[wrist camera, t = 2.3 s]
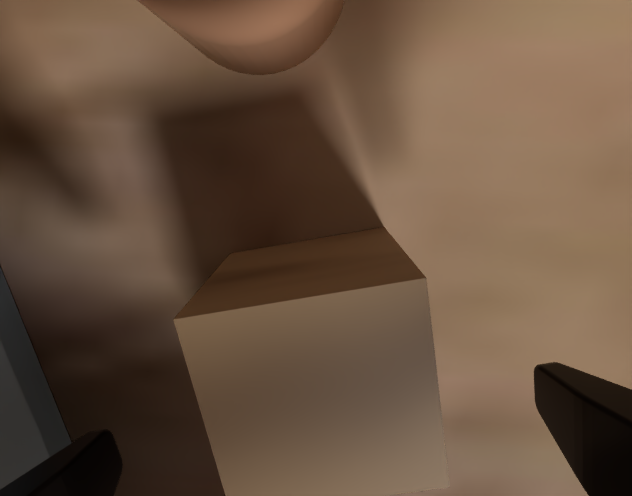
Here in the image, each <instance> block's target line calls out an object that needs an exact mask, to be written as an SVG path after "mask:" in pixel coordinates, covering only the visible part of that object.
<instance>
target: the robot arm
mask: <svg viewBox="0 0 632 496" xmlns="http://www.w3.org/2000/svg"><path fill="white" fill-rule="evenodd" d="M534 389H535V403H536V407H537V409H538V412H539V413H540V415H541V417H542V419H543V420H544V422H545V424H546V426H547V427H548V429H549V431H550V432H551V434H552V436H553V437H554V439H555V441H556V443H557V444H558V446H559V448H560V449H561V451H562V453H563V455H564V456H565V458H566V460H567V461H568V463H569V465H570V467H571V468H572V470H573V472H574V473H575V475H576V477H577V478H578V480H579V482H580V483H581V485H582V486H583V488H584V489H585V491H586V492H587V494H588V495H589V496H632V390H631V389H629V388H626V387H623V386H620V385H618V384H615V383H612V382H609V381H607V380H604V379H601V378H599V377H596V376H593V375H590V374H588V373H585V372H582V371H580V370H577V369H574V368H571V367H569V366H566V365H563V364H560V363H557V362H553V363H546V364H540V365H537V366H536V367H535V369H534ZM122 465H123V464H122V458H121V455H120V453H119V450H118V447H117V444H116V442H115V439H114V436H113V434H112V432H111V431H109V430H107V429H105V430H98V431H91V432H88V433H86V434H85V435H83V436H82V437H80V438H79V439H77V440H76V441H74V442H72V443H71V444H69V445H68V446H66V447H65V448H63V449H62V450H60V451H59V452H57V453H56V454H54V455H52V456H51V457H49V458H48V459H46V460H45V461H43V462H42V463H40V464H39V465H37V466H35V467H34V468H32V469H31V470H29V471H28V472H26V473H25V474H23V475H22V476H20V477H19V478H17V479H15V480H14V481H12V482H11V483H9V484H8V485H6V486H5V487H3V488H2V489H0V496H113V495H114V492H115V490H116V487H117V484H118V481H119V478H120V476H121V472H122Z"/></svg>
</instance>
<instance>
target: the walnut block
mask: <svg viewBox="0 0 632 496" xmlns="http://www.w3.org/2000/svg"><path fill="white" fill-rule="evenodd" d="M173 320H174V324H175V327H176V330H177V334H178V337H179V341H180V344H181V347H182V351H183V354H184V357H185V361H186V364H187V368H188V371H189V374H190V378H191V381H192V384H193V388H194V391H195V395H196V398H197V401H198V405H199V408H200V411H201V415H202V418H203V421H204V425H205V428H206V432H207V435H208V438H209V442H210V445H211V448H212V452H213V455H214V459H215V462H216V465H217V469H218V472H219V475H220V479H221V482H222V486H223V489H224V492H225V496H390V495H397V494H405V493H412V492H419V491H427V490H434V489H442V488H449V487H450V484H449V475H448V466H447V458H446V449H445V440H444V431H443V422H442V413H441V405H440V396H439V387H438V378H437V369H436V360H435V351H434V343H433V334H432V325H431V316H430V307H429V298H428V289H427V281H426V277H425V276H424V275H423V273H422V272H421V271H420V270H419V269H418V267H417V266H416V265H415V264H414V263H413V261H412V260H411V259H410V258H409V257H408V255H407V254H406V253H405V252H404V250H403V249H402V248H401V247H400V246H399V244H398V243H397V242H396V241H395V240H394V238H393V237H392V236H391V235H390V234H389V232H388V231H387V230H386V229H385V228H384V227H381V228H375V229H369V230H363V231H358V232H352V233H346V234H340V235H334V236H329V237H323V238H317V239H311V240H306V241H300V242H294V243H288V244H282V245H277V246H271V247H265V248H259V249H253V250H248V251H242V252H236V253H230V254H229V255H228V257H227V258H226V259H225V260H224V261H223V262H222V264H221V265H220V266H219V267H218V268H217V269H216V271H215V272H214V273H213V274H212V275H211V276H210V277H209V279H208V280H207V281H206V282H205V283H204V284H203V286H202V287H201V288H200V289H199V290H198V291H197V293H196V294H195V295H194V296H193V297H192V298H191V300H190V301H189V302H188V303H187V304H186V305H185V306H184V308H183V309H182V310H181V311H180V312H179V313H178V315H177V316H176V317H175V318H174V319H173Z"/></svg>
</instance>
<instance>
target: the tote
mask: <svg viewBox="0 0 632 496" xmlns="http://www.w3.org/2000/svg"><path fill="white" fill-rule="evenodd" d="M69 444H71V440H70V438H69V435H68V433H67V430H66V428H65V425H64V423H63V420H62V418H61V415H60V413H59V410H58V408H57V406H56V403H55V401H54V398H53V396H52V393H51V391H50V388H49V386H48V383H47V381H46V378H45V376H44V373H43V371H42V369H41V366H40V364H39V361H38V359H37V356H36V354H35V351H34V349H33V346H32V344H31V341H30V339H29V336H28V334H27V332H26V329H25V327H24V324H23V322H22V319H21V317H20V314H19V312H18V309H17V307H16V304H15V302H14V299H13V297H12V295H11V292H10V290H9V287H8V285H7V282H6V280H5V277H4V275H3V272H2V270H1V267H0V489H2V488H3V487H5V486H6V485H8V484H9V483H11V482H12V481H14V480H15V479H17V478H19V477H20V476H22V475H23V474H25V473H26V472H28V471H29V470H31V469H32V468H34V467H35V466H37V465H39V464H40V463H42V462H43V461H45V460H46V459H48V458H49V457H51V456H52V455H54V454H56V453H57V452H59V451H60V450H62V449H63V448H65V447H66V446H68V445H69Z"/></svg>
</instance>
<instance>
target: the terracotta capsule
mask: <svg viewBox="0 0 632 496" xmlns="http://www.w3.org/2000/svg"><path fill="white" fill-rule="evenodd" d="M137 1H139V2H140V3H141V4H142V5H144V6H145V7H146V8H147V9H149V10H150V11H151V12H152V13H153V14H155V15H156V16H157V17H158V18H160V19H161V20H162V21H163V22H165V23H166V24H167V25H168V26H169V27H171V28H172V29H173V30H174V31H176V32H177V33H178V34H179V35H181V36H182V37H183V38H184V39H185V40H187V41H188V42H189V43H190V44H192V45H193V46H194V47H195V48H197V49H198V50H199V51H200V52H201V53H203V54H204V55H205V56H206V57H208V58H209V59H211V60H212V61H214V62H215V63H217V64H219V65H221V66H223V67H225V68H227V69H229V70H233V71H236V72H239V73H245V74H251V75H266V74H274V73H278V72H281V71H285V70H287V69H290V68H292V67H294V66H296V65H298V64H300V63H301V62H303V61H305V60H306V59H307V58H309V57H310V56H311V55H312V54H314V53H315V52H316V51H317V50H318V49H319V48H320V47H321V45H322V44H323V43H324V42H325V41H326V39H327V38H328V36H329V35H330V34H331V32H332V30H333V28H334V27H335V25H336V23H337V21H338V18H339V16H340V13H341V11H342V8H343V4H344V0H137Z"/></svg>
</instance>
